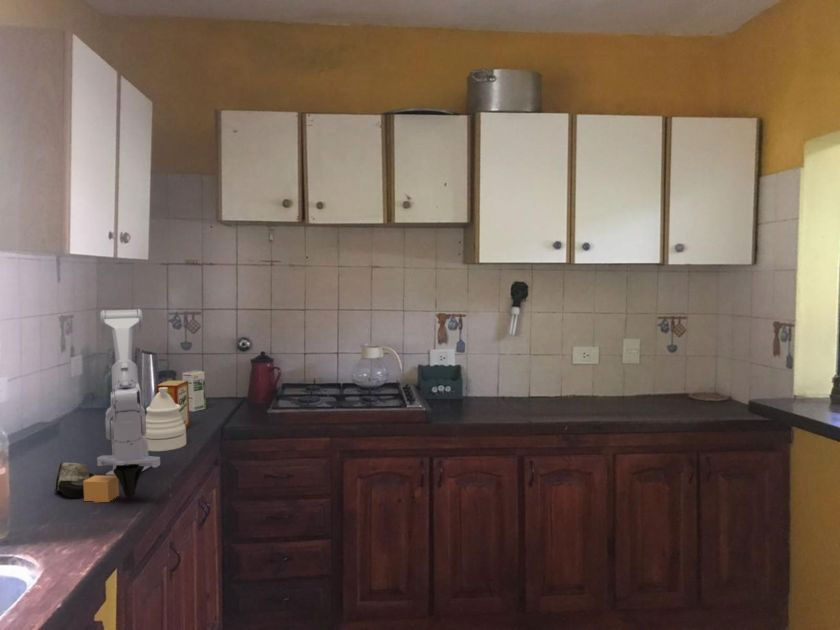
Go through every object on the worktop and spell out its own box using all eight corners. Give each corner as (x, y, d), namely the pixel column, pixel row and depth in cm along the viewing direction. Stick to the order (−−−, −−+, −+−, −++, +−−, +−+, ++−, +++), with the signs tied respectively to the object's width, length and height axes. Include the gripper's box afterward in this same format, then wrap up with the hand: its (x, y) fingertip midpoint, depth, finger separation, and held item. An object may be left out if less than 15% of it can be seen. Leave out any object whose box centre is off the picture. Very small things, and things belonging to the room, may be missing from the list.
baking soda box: (170, 425, 231) (169, 379, 230) (189, 425, 231) (187, 379, 229) (158, 432, 222) (156, 384, 220) (178, 432, 221) (176, 384, 220)
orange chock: (94, 495, 163) (93, 475, 163) (119, 496, 162) (118, 476, 162) (83, 502, 159) (82, 481, 158) (108, 503, 158) (107, 482, 157)
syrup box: (193, 412, 252) (192, 373, 250) (183, 410, 255) (182, 372, 254) (206, 409, 256) (205, 371, 255) (196, 407, 260) (194, 369, 258)
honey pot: (190, 447, 205) (188, 388, 203) (145, 453, 198) (142, 392, 197) (181, 437, 216) (179, 381, 214) (138, 443, 209) (136, 385, 208)
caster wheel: (94, 506, 163) (48, 505, 159) (101, 482, 173) (57, 481, 170) (97, 481, 161) (50, 480, 158) (103, 458, 171) (59, 457, 168)
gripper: (88, 442, 155) (91, 500, 156) (148, 444, 154) (151, 502, 155) (105, 435, 162) (108, 490, 163) (163, 436, 161) (165, 492, 162)
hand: (130, 495), depth 160 cm, fingers closed
